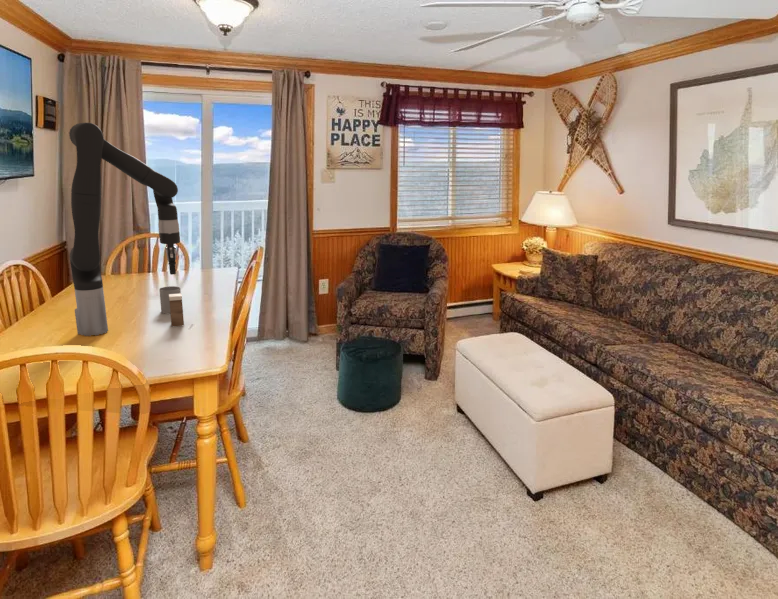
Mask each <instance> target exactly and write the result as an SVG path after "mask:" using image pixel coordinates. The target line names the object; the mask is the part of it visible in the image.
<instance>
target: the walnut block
mask: <svg viewBox="0 0 778 599" xmlns="http://www.w3.org/2000/svg"><path fill="white" fill-rule="evenodd" d="M169 302H170V314H169V315H170V323H171V324H170V325H171V327H172V326H174V327H183V326H182V325H184V326H185V321H184V309H183V308H184V307H183V295H182V293H181V294H169Z"/></svg>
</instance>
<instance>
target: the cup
mask: <svg viewBox="0 0 778 599" xmlns="http://www.w3.org/2000/svg"><path fill="white" fill-rule="evenodd" d="M181 292H182V291H181V287H180V286H173V285H171V286H163V287H160V288H159V299H160V300H159V301H160V302H159V303H160V312H163V313H162V314H164V313H170V302H169V294H181V295H182V293H181Z"/></svg>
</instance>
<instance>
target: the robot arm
mask: <svg viewBox="0 0 778 599" xmlns="http://www.w3.org/2000/svg"><path fill="white" fill-rule="evenodd" d="M68 134H69V135H68V136H69V139H70V141H71V143H72V144H73V145H74V146H75V149H76V166H75V171H74V175H73V178H72V183H71V191H70V192H71V193H70V194H71V195H70V200H71V201H70V202H71V203H70V206H71V215H72V216H71V217H72V221H73V227H74V239H73V247H72V248H71V249H70V252H69V263H70V269H71V276H72V282H73V287H74V294H75V302H76V304H75V305H76V308H74V316H75V324H76V330H77V331H76V332H77V335H81V336H83V335H84V337H92V336H91V335H95V336H100V335H99V334H101V335H104V334H106V333H108V332H107V331H109V327H108V317H107V309H106V300H105V293H104V284H103V283H104V282H103V277H102V273H101V264H100V263H101V258H102V257H101V253H100V252H101V251H100V242H99V231H100V230H99V228H100V223H101V222H100V221H101V208H102V173H101V172H102V171H101V166H102V165H101V163H102V160H103V161H105V162H107V163H109V164H110V165H112V166H113V167H115V168H116V169H118V170H119V171H120V172H122V173H124V175H127V176H129V177H130V178H131V179H133V180H135V181H136V182H138V183H139V184H141V185H143V186H146V187H148V188H150V189H152V190H153V198H154V201H155V204H156V206H157V216H158V218H157V219H158V222H157V223H158V224H157V225H158V234H159V235H158V236H159V237H158V238H159V243H160V244H162V245H166V247H165V250H164V251H165V253H166V259H167V262H168V263H167V264H168V267H169V274H170V275H176V274H177V270H176V264H177V262H176V260H177V247H176V246H175V244H179V243H181V234H180V224H179V219H178V217H179V216H178V209H177V206H176V205H175V203H174V201H173V198H174V197H176V196H177V195H178V192H179V189H178V185H177V183H175V181H174V180H172V179H171V178H169V177H167V176H165V175H163V174H162V173H160V172H158V171H156V170H154V169H153V168H152V167H150V166H149V165H147V164H146V163H144V162H143V161H142V160H140V159H138V158H137V157H135V156H133V155H131V154H129V153H127V152H125V151H123V150H121V149H119V148H117V146H115V145H114V144H112V143H110V142H109V141H107V140H106V139H105V138H104V134H103V131H102V129H101V128H100V127H99V126H98V125H96V123H92V122H79V123H76V124H74V125H73V126H72V127H71V128H70V129H69V132H68ZM103 333H104V334H103Z"/></svg>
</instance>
